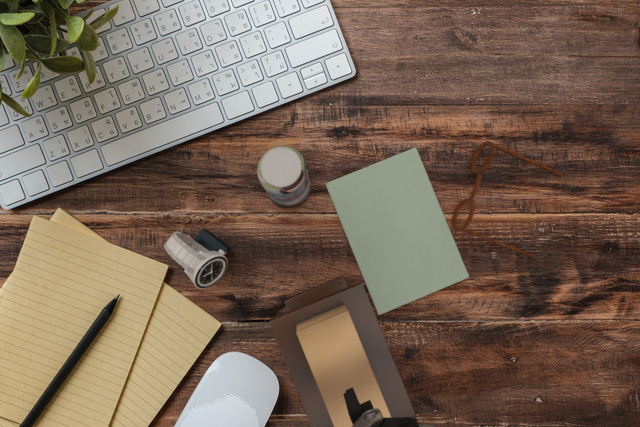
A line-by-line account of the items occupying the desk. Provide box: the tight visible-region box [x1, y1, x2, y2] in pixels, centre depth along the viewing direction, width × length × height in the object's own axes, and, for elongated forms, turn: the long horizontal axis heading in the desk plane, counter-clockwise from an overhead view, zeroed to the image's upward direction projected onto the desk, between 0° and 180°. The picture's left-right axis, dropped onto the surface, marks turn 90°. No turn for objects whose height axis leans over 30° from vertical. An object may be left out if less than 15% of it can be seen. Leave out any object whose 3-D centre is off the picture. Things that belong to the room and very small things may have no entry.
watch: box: [163, 228, 232, 290], centre depth 61 cm, size 6×8×11 cm
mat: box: [324, 146, 470, 316], centre depth 68 cm, size 20×14×1 cm
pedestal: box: [268, 275, 416, 427], centre depth 57 cm, size 14×10×20 cm
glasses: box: [451, 140, 563, 259], centre depth 66 cm, size 13×13×5 cm
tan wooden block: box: [296, 303, 392, 427], centre depth 45 cm, size 12×5×5 cm, turn 22°
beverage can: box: [256, 145, 312, 210], centre depth 62 cm, size 6×7×12 cm
